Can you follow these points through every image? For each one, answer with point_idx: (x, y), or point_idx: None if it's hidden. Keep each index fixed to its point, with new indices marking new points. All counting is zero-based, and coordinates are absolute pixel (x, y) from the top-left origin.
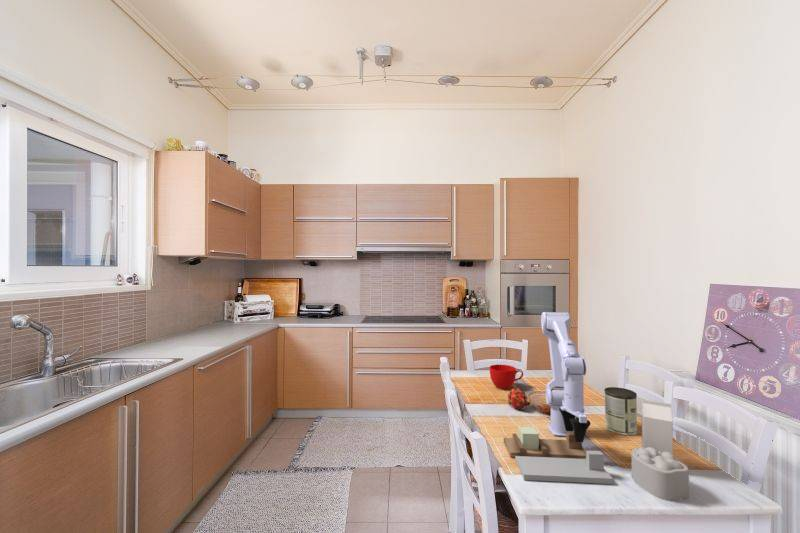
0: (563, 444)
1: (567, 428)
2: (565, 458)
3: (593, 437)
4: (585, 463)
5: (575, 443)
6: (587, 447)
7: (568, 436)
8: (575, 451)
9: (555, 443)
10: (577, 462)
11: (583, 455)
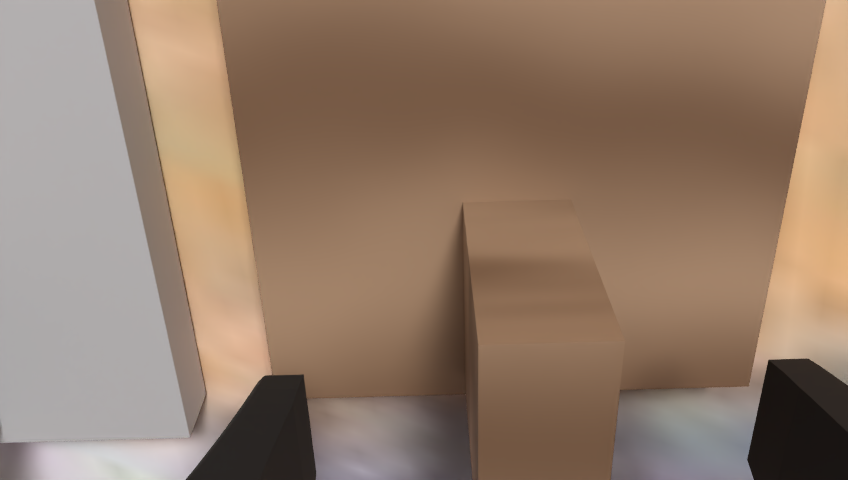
0: (611, 162)
1: (787, 413)
2: (83, 24)
3: None
4: (17, 279)
5: (467, 348)
6: (653, 452)
7: (501, 314)
8: (378, 268)
9: (653, 28)
10: (10, 178)
11: (269, 333)
